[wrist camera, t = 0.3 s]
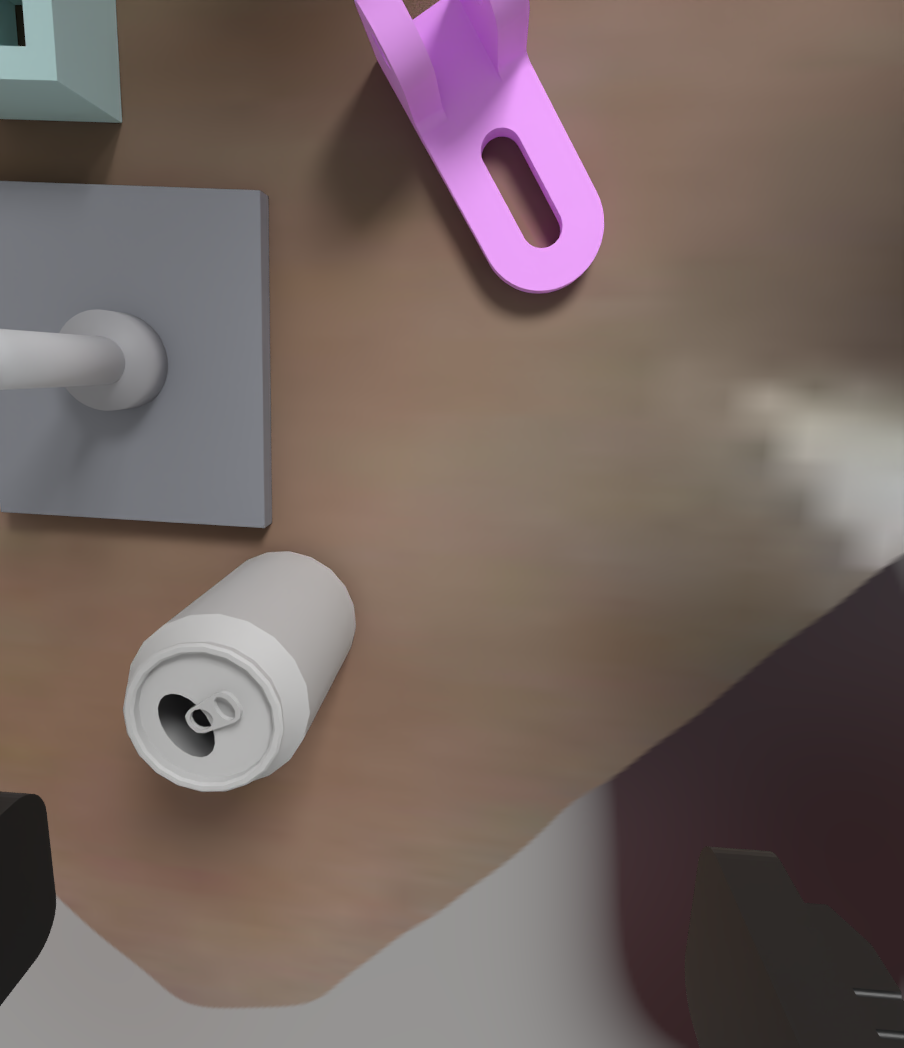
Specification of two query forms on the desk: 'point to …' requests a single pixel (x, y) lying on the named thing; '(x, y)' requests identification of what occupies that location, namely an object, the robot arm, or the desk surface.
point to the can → (239, 673)
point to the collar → (60, 61)
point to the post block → (135, 353)
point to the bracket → (488, 127)
